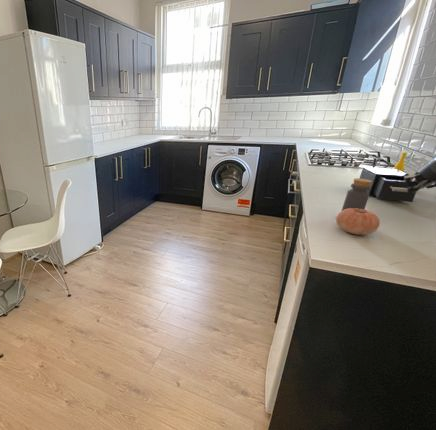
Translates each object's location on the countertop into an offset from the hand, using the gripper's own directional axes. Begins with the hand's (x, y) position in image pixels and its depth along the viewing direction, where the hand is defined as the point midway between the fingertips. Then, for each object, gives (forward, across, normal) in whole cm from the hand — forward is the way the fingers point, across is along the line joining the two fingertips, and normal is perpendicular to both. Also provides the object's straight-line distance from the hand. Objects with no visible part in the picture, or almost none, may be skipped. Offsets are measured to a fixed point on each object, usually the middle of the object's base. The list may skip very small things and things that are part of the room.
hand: (410, 190), depth 108 cm
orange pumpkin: (-18, -26, -29) cm, 43 cm away
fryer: (+21, 0, +10) cm, 23 cm away
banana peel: (+33, +9, +22) cm, 40 cm away
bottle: (-10, -24, -21) cm, 34 cm away
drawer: (+13, 0, +4) cm, 14 cm away
